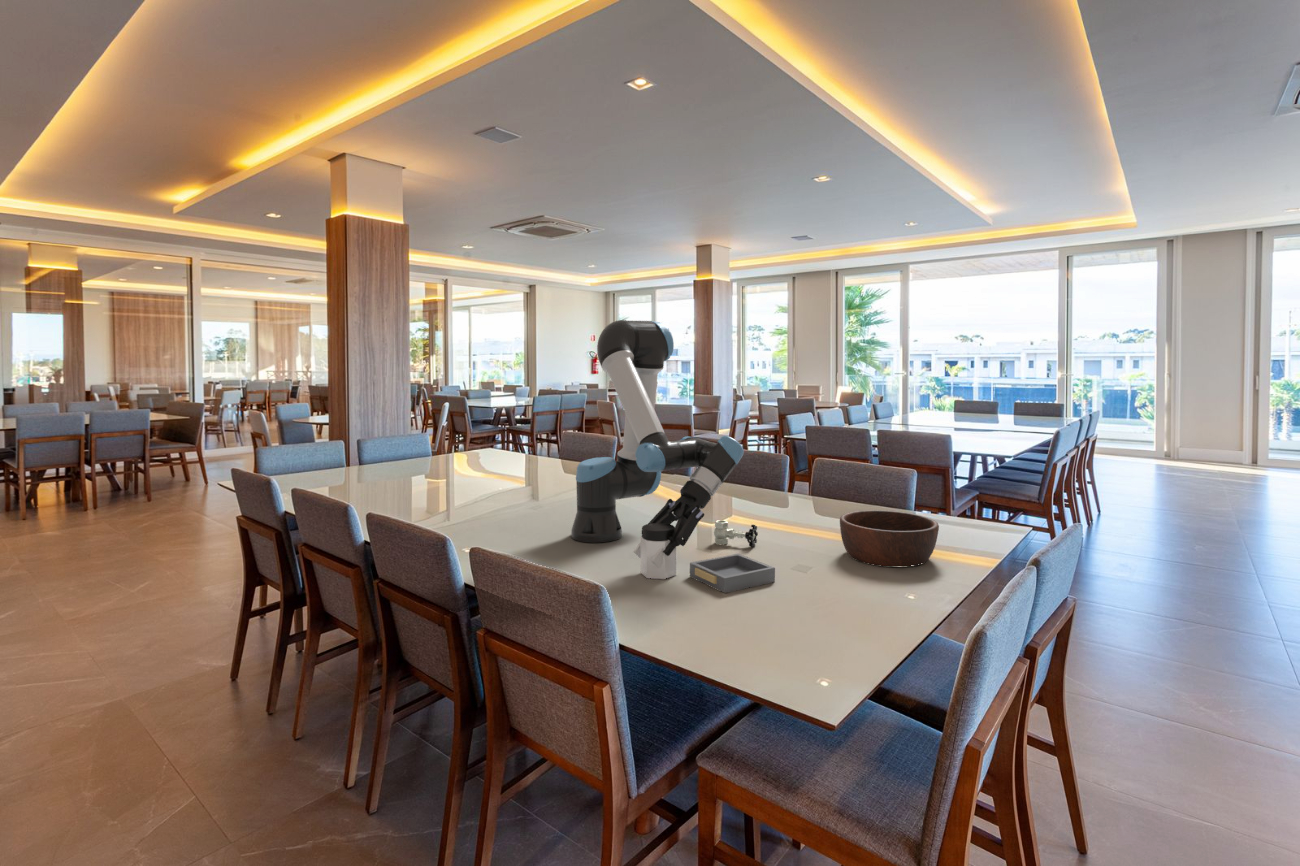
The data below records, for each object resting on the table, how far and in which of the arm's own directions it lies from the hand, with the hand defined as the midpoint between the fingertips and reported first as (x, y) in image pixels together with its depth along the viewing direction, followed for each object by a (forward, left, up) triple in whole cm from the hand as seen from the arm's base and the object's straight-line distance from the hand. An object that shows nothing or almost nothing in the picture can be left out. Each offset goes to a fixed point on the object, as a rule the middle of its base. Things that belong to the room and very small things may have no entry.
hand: (646, 559), depth 167 cm
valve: (-11, +36, -5) cm, 38 cm away
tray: (+13, +16, -4) cm, 21 cm away
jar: (0, +3, -4) cm, 5 cm away
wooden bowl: (+20, +63, -4) cm, 67 cm away
